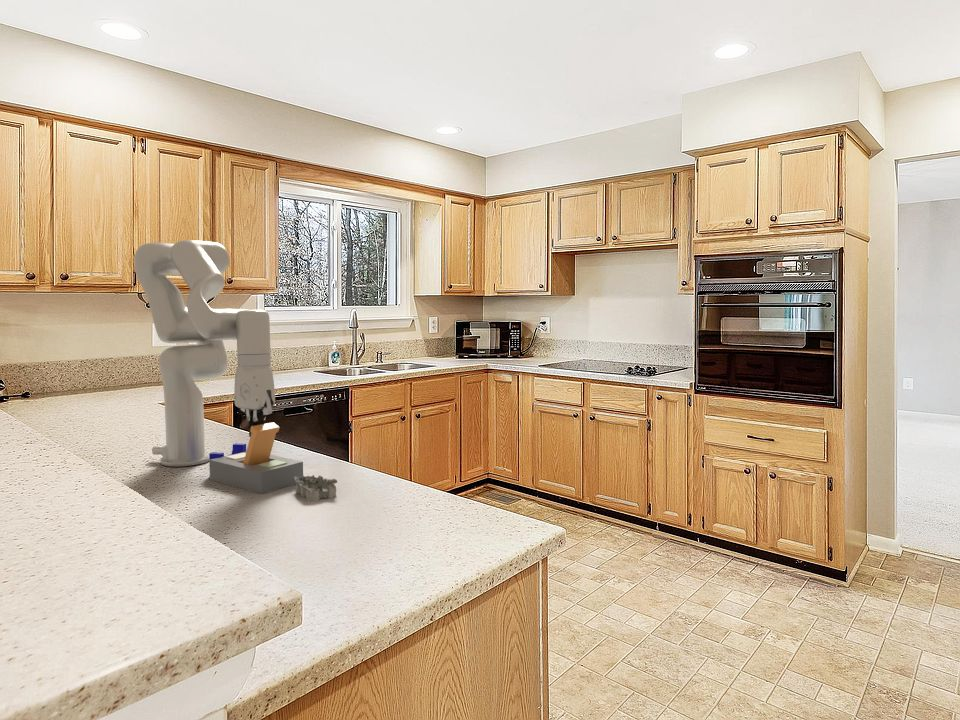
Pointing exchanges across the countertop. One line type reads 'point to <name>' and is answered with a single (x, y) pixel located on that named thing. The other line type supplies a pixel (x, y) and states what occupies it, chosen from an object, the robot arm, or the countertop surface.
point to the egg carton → (315, 487)
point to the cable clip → (236, 449)
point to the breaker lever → (260, 443)
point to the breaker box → (255, 472)
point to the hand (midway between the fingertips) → (256, 436)
